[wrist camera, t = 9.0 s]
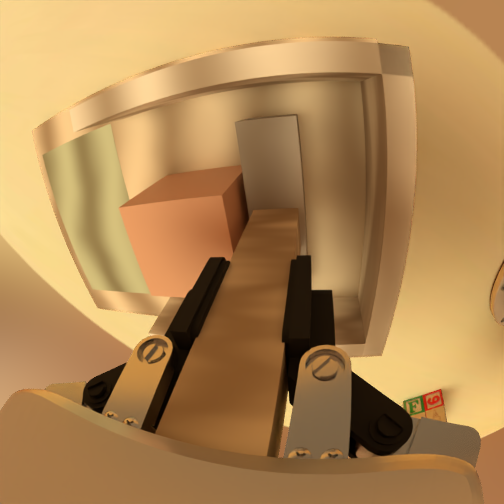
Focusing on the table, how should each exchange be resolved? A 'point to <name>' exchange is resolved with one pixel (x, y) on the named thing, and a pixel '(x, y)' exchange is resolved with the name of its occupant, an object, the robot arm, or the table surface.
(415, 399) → the stack of blocks
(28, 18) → the table surface
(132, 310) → the cubby
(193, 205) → the block
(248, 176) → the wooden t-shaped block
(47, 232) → the table surface
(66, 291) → the table surface
